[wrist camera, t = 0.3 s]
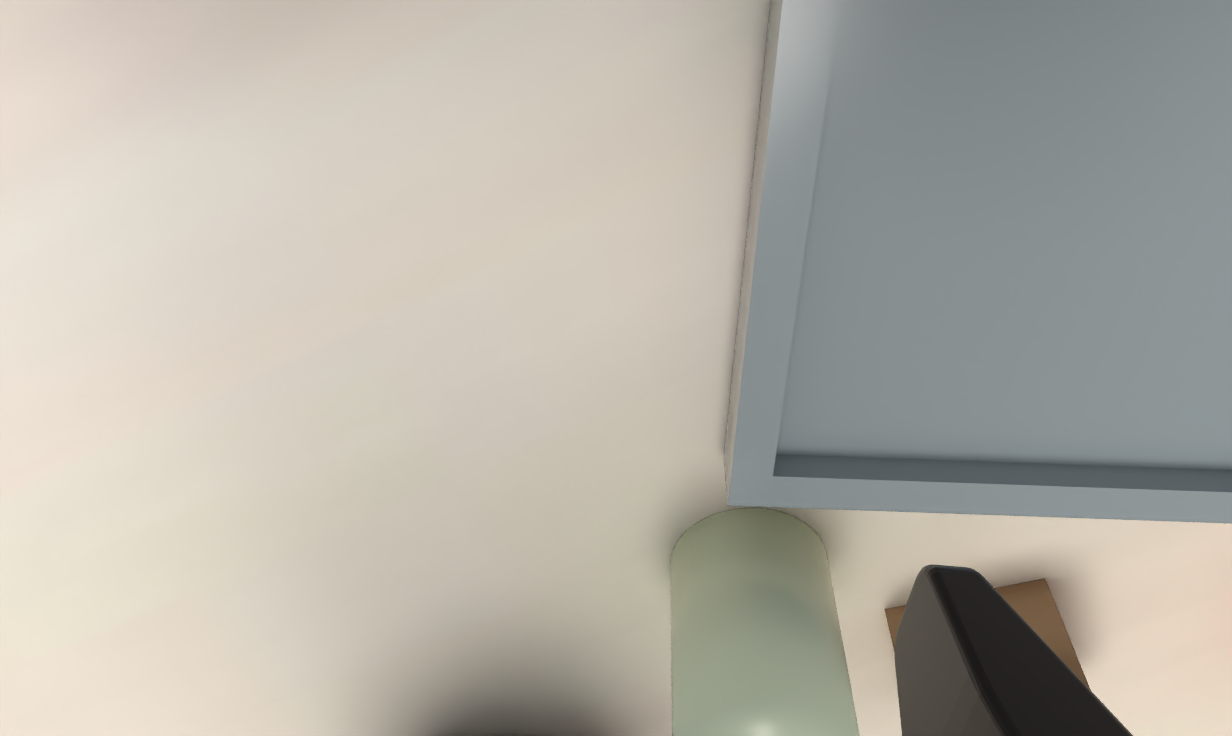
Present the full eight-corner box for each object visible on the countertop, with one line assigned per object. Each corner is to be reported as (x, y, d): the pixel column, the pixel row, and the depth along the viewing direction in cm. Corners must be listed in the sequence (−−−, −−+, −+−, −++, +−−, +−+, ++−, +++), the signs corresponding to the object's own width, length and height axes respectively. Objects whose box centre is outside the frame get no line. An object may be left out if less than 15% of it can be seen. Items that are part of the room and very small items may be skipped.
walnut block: (1058, 673, 31) (1111, 811, 28) (910, 698, 32) (942, 835, 28) (1044, 576, 29) (1100, 713, 25) (884, 607, 30) (915, 744, 26)
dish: (1270, 476, 26) (1307, 526, 25) (723, 457, 26) (727, 505, 25) (1584, -121, 18) (1666, -98, 16) (784, -139, 18) (796, -119, 17)
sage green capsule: (816, 619, 30) (846, 810, 25) (666, 613, 30) (668, 803, 25) (837, 510, 27) (876, 700, 23) (673, 505, 27) (677, 692, 23)
